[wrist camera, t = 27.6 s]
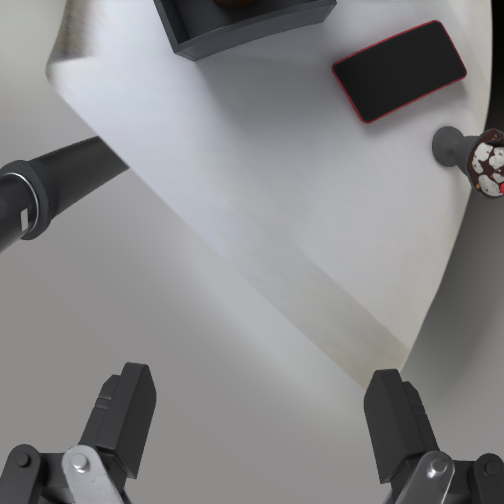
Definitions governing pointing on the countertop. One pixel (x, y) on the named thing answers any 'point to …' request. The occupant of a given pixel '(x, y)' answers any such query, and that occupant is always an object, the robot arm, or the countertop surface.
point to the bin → (232, 22)
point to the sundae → (474, 158)
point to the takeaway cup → (235, 3)
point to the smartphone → (399, 70)
